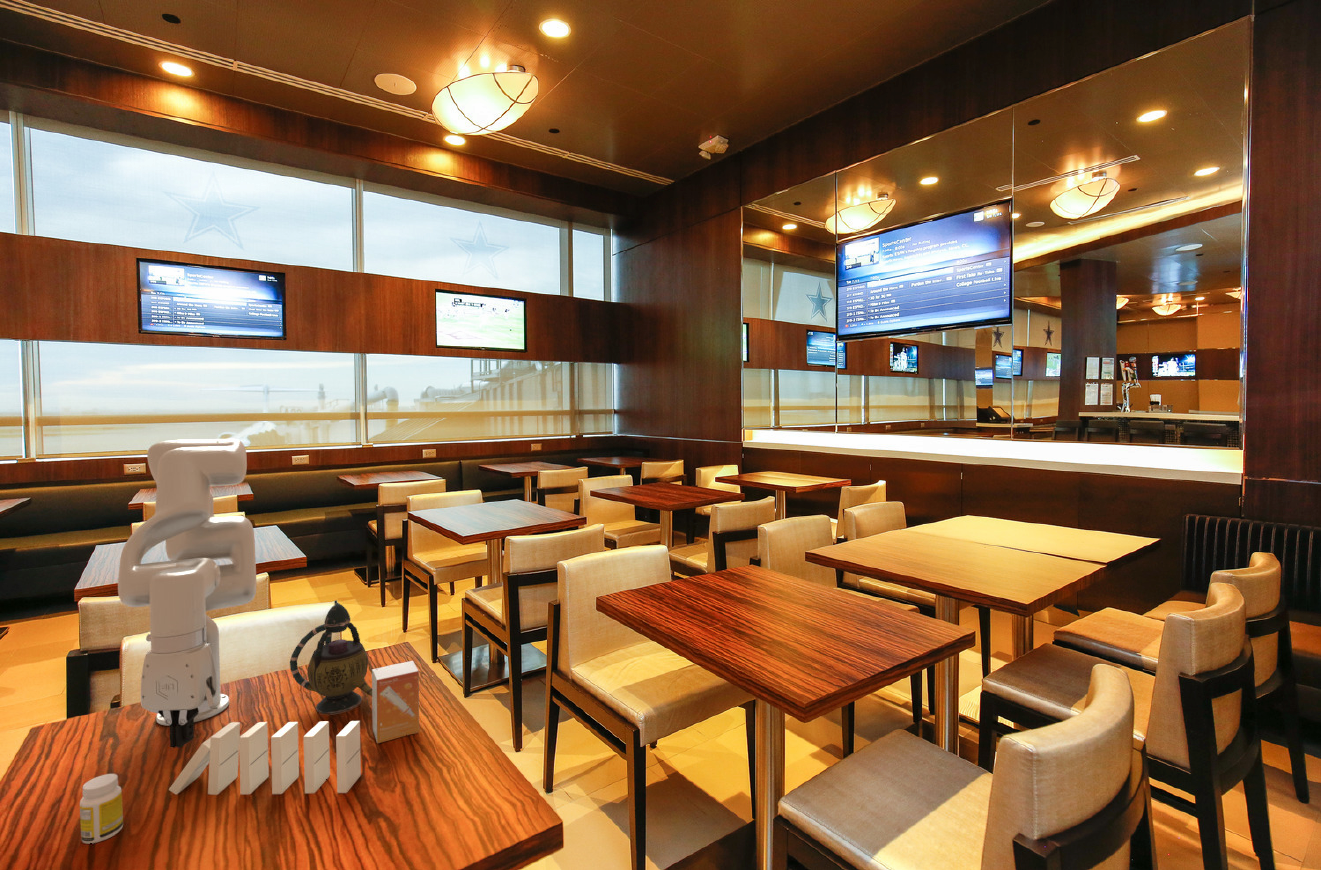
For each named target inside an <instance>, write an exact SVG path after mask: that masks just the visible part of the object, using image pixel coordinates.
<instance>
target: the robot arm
mask: <svg viewBox="0 0 1321 870" xmlns="http://www.w3.org/2000/svg"><path fill="white" fill-rule="evenodd" d="M247 459H248V457H247V449H246V447H245V444H244V443H243V442H242V441H241V440H239V439H236V438H214V439H212V438H210V439H207V438H205V439H204V438H203V439H202V438H201V439H199V438H198V439H194V438H193V439H175V440H174V439H172V440H164V441H159V442H157V443H154V444H152V445H151V446H150V447H149V448H148V450H147V463H148V464H147V465H148V467H149V471H150V474H151V476H152V478H153V480H154V482H155V484H156V496H155V497H156V498H155V512H154V514H153V516H150V518H148V519H147V520H145V522H143V523H142V524H141V525H140V526H138V527H137V528H136V529H135V531H133V533H132V534H131V535H129V538H128V539H127V541H126V542H125V543H124V546H123V548H122V551H121V553H120V559H119V569H118V578H117V579H118V581H117V593H118V598H119V599H120V601H121V603H122V604H123V605H125V606H126V607H129V608H130V607H131V608H140V607H142V608H143V607H148V606H149V626H150V627H149V628H150V633H148V634H147V635H146V637H145V640H146V641H147V642H149V643H150V649H149V650H148V651H146V653H145V656H144V660H143V664H142V669H141V677H140V679H141V680H140V704H141V708H142V709H145V710H147V711H148V712H150V713H154V714H156V717H155V719H156V723H158V725H161V726H166V727H168V729H169V748H170V749H172V748H173V749H175V748H178V749H179V748H183V747H184V746H186V745H187V744H189V743H190V742H191V741H192V740H194V738H195V723H197V722H198V723H199V722H200V721H204V720H207V719H209V718H212V717H214V716H216V715H219V714H220V713H221V712H223V711H224V710H226V709H227V707H229V705H230V697H229V696H228V695H227V694H225V693H221V667H220V665H221V663H220V661H221V660H220V631H219V627H218V624H217V623H216V622H215V620H213V619H212V617H210V616H209V615H207V614H206V613H207V612H208V611H209V612H210V611H214V610H220V609H227V608H233V607H234V608H235V607H238V606H242V605H243V606H244V605H247V604H249V603H250V602H253V600H255V599H254V598H255V597H256V593H257V565H256V562H257V561H256V544H255V543H256V541H255V532H254V527H253V524H252V522H251V520H250V519H249V518H247V517H246V516H243V515H242V516H241V515H232V516H231V515H230V516H219V517H216V516H215V515H214V514H215V513H214V496H213V495H212V493H211V487H223V486H237V485H239V484H241V483H242V482H244V480H245V478H246V476H247V467H248V463H247V462H248V461H247ZM163 542H165V551H166V555H167V558H168V559H169V560H164V561H156V562H155V561H154V562H149V563H148V562H147V563H142V559H143V558H144V556H145V555H146V554H147V553H148V552H149V551H150V550H151V549H153V548H154V547H155V546H157V545H159V544H160V543H163ZM224 559H225V560H229V561H231V563H230V564H220V565H219V564H217V562H216V560H224Z"/></svg>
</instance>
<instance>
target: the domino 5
mask: <svg viewBox="0 0 1321 870" xmlns="http://www.w3.org/2000/svg"><path fill="white" fill-rule="evenodd" d="M330 757H331V756H330V722H329V721H326V720H325V721H318V722H317V723H316V725H314V726H313V727H312V728H311V729H310V730H309V731H308V732H306V733H305V734H304V736H303V761H304V763H303V764H304V765H303V766H304V768H303V770H304V794H316V792H317V791H318V790H319V789H320V787H322V786H323V784H324V783H325V782H326V781H327V780H328V779H329V778H330V776H331V764H330V760H331V758H330ZM326 779H327V780H326Z"/></svg>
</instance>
